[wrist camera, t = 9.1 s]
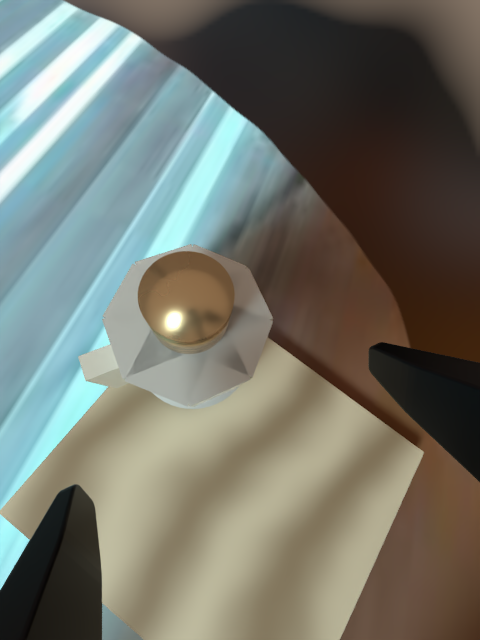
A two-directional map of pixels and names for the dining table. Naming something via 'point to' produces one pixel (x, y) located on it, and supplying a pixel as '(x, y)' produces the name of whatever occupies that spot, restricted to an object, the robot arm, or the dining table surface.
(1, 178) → the dining table surface
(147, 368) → the white faceted container
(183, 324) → the plunger
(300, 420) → the birch board
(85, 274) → the dining table surface
